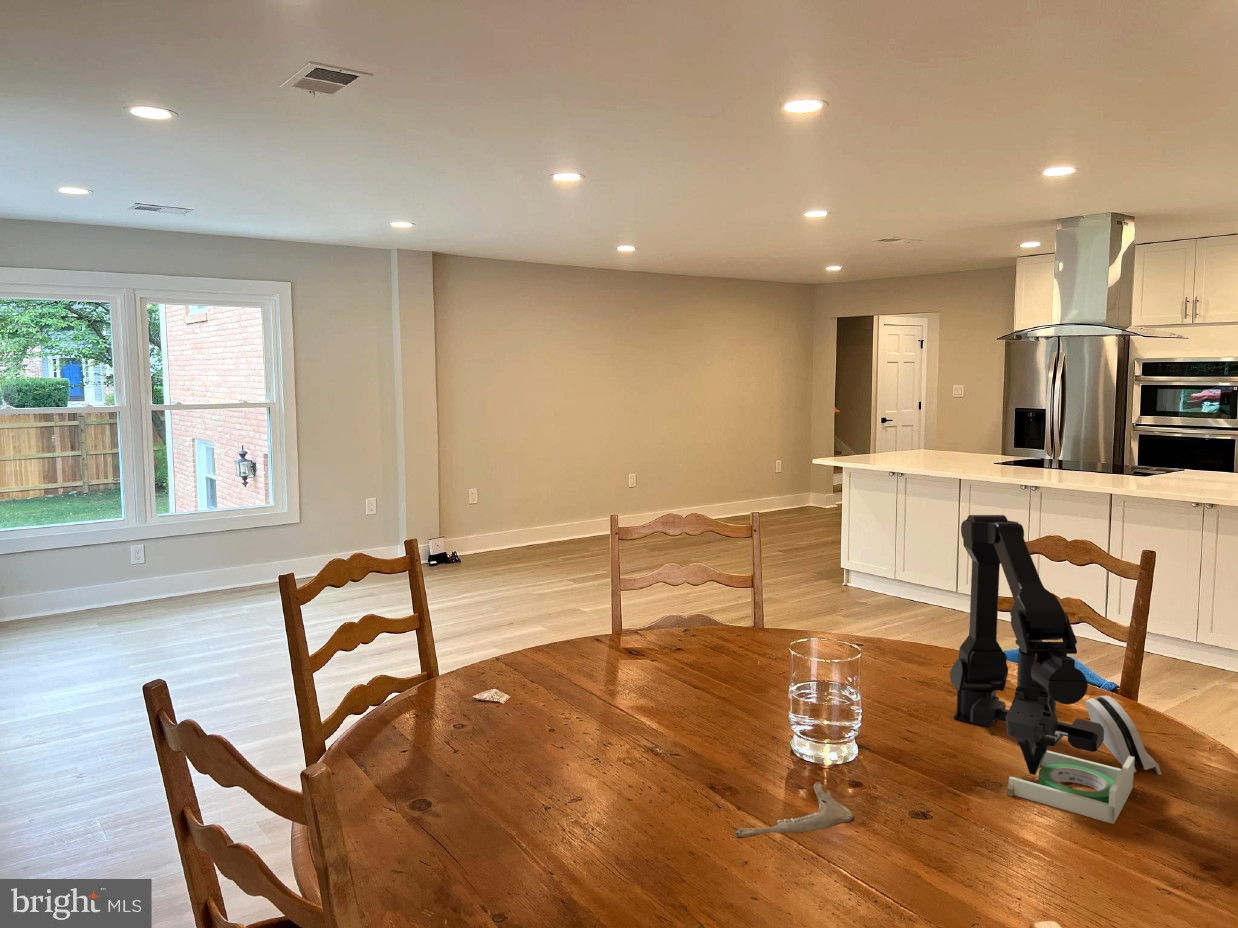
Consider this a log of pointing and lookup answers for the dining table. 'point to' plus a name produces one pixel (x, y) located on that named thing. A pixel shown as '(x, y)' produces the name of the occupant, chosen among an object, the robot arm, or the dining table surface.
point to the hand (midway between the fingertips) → (1033, 773)
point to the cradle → (1076, 802)
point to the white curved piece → (1119, 732)
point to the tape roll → (1076, 780)
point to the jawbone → (808, 817)
